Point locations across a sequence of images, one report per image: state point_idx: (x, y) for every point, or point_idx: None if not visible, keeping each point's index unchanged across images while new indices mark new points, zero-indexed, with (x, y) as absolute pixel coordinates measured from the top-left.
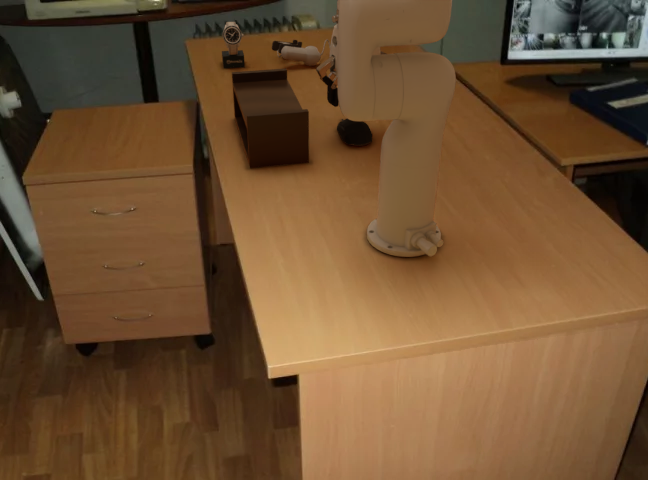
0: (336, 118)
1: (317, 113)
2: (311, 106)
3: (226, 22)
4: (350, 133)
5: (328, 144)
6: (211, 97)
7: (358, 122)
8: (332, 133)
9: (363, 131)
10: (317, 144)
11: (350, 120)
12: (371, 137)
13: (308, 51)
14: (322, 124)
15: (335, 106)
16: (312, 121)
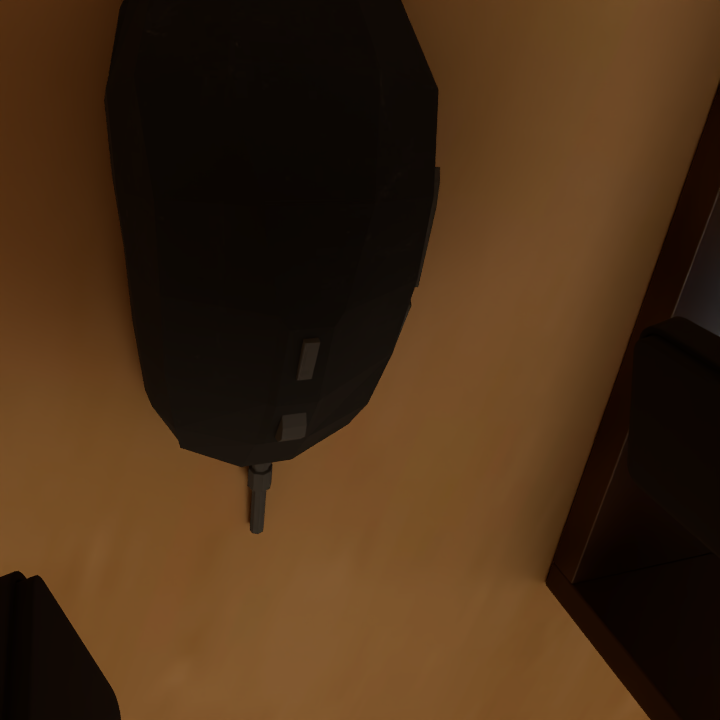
0: (283, 556)
1: (376, 617)
2: (372, 695)
3: None
4: (406, 74)
5: (519, 125)
6: None
7: (292, 217)
8: (406, 323)
9: (258, 53)
10: (589, 150)
11: (359, 289)
12: (138, 13)
13: None
14: (411, 472)
15: (673, 322)
16: (451, 515)
